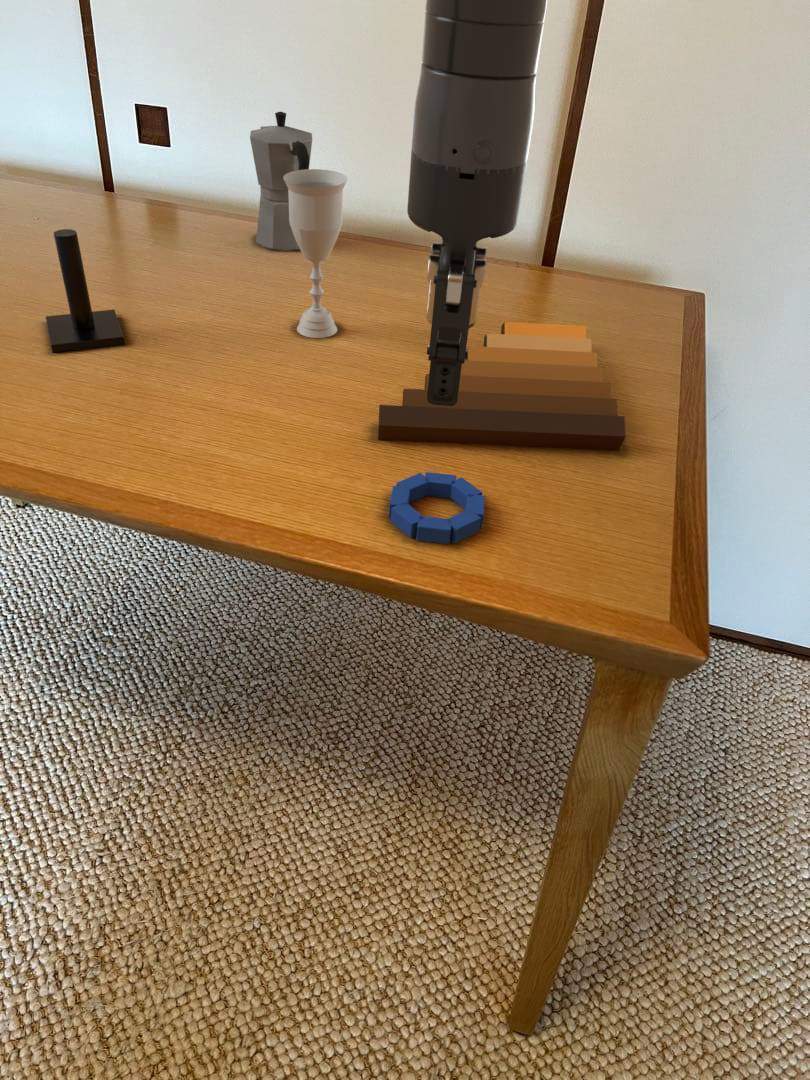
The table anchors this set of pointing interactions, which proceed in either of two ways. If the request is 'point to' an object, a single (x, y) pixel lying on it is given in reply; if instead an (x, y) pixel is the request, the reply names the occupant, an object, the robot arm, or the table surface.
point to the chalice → (316, 234)
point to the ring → (432, 526)
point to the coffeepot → (277, 179)
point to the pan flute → (518, 395)
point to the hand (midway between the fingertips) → (444, 375)
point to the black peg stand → (79, 305)
